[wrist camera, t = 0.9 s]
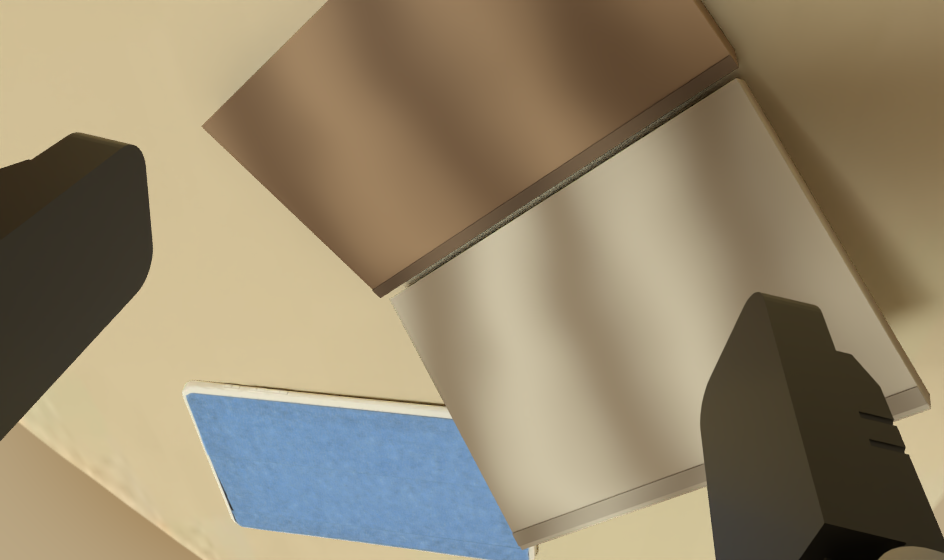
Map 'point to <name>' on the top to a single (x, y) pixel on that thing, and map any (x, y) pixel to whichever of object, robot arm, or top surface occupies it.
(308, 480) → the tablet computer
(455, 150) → the laid board
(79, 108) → the top surface
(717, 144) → the plank
